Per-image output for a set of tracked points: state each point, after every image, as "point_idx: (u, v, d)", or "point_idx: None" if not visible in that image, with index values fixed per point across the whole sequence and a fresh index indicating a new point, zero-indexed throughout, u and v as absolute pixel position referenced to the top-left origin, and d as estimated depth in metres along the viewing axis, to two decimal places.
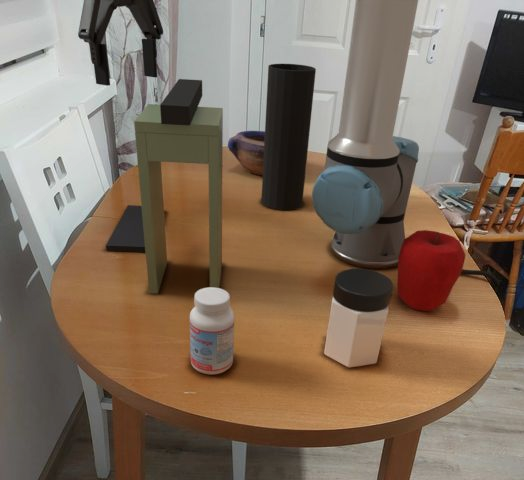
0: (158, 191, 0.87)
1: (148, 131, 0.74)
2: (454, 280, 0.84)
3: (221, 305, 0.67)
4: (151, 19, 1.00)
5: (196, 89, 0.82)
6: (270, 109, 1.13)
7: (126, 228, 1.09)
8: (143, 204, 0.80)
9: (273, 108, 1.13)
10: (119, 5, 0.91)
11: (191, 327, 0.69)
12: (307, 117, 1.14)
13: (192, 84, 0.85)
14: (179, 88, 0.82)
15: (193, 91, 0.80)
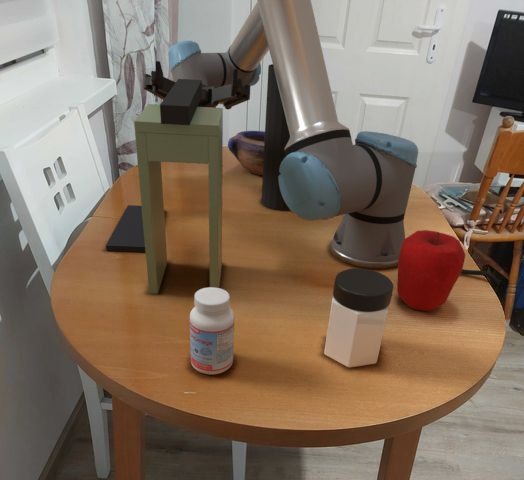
0: (158, 191, 0.87)
1: (148, 131, 0.74)
2: (454, 280, 0.84)
3: (221, 305, 0.67)
4: None
5: (196, 89, 0.82)
6: (270, 109, 1.13)
7: (126, 228, 1.09)
8: (143, 204, 0.80)
9: (273, 108, 1.13)
10: None
11: (191, 327, 0.69)
12: None
13: (192, 84, 0.85)
14: (179, 88, 0.82)
15: (193, 91, 0.80)
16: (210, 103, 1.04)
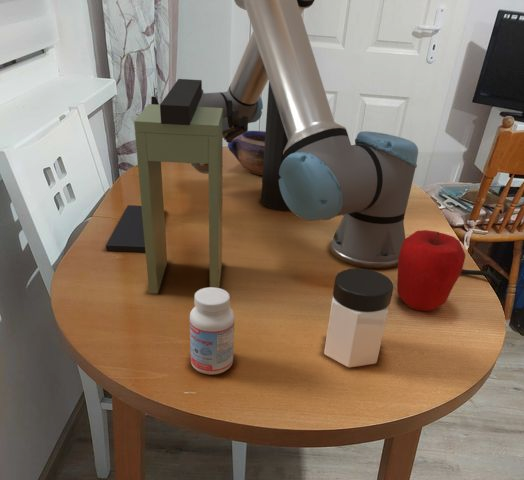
0: (158, 191, 0.87)
1: (148, 131, 0.74)
2: (454, 280, 0.84)
3: (221, 305, 0.67)
4: None
5: (196, 89, 0.82)
6: (273, 110, 1.12)
7: (126, 228, 1.09)
8: (143, 204, 0.80)
9: (275, 110, 1.11)
10: None
11: (191, 327, 0.69)
12: None
13: (192, 84, 0.85)
14: (179, 88, 0.82)
15: (193, 91, 0.80)
16: None
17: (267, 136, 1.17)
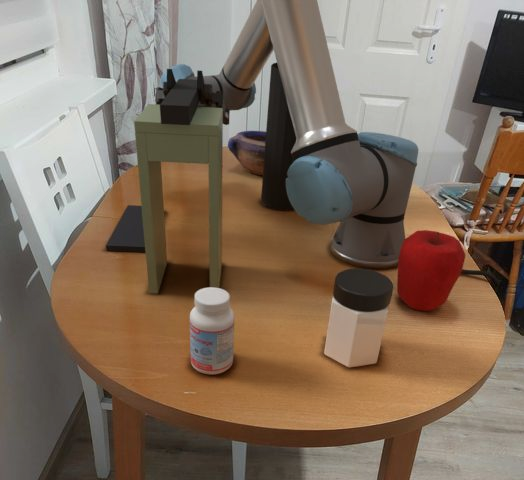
0: (158, 191, 0.87)
1: (148, 131, 0.74)
2: (454, 280, 0.84)
3: (221, 305, 0.67)
4: None
5: (196, 89, 0.82)
6: (273, 110, 1.12)
7: (126, 228, 1.09)
8: (143, 204, 0.80)
9: (276, 110, 1.11)
10: None
11: (191, 327, 0.69)
12: None
13: (192, 84, 0.85)
14: (179, 88, 0.82)
15: (193, 91, 0.80)
16: None
17: (268, 136, 1.16)
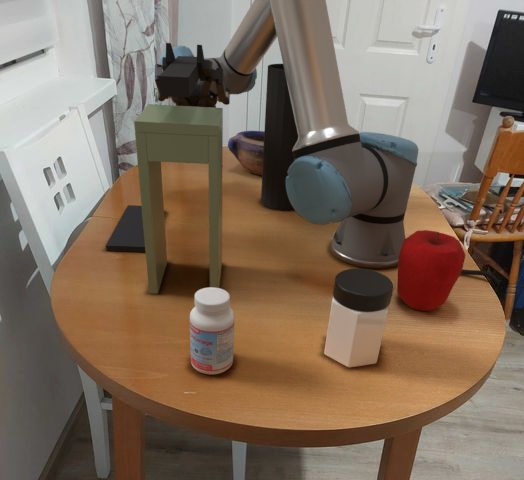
0: (158, 191, 0.87)
1: (148, 131, 0.74)
2: (454, 280, 0.84)
3: (221, 305, 0.67)
4: None
5: (196, 64, 0.80)
6: (271, 109, 1.13)
7: (126, 228, 1.09)
8: (143, 204, 0.80)
9: (274, 108, 1.13)
10: None
11: (191, 327, 0.69)
12: None
13: (192, 60, 0.84)
14: (178, 63, 0.80)
15: (193, 65, 0.79)
16: (199, 99, 0.93)
17: (266, 136, 1.18)
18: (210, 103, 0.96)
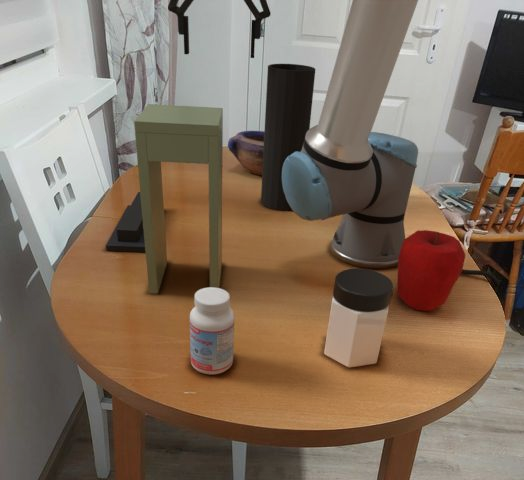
0: (158, 191, 0.87)
1: (148, 131, 0.74)
2: (454, 280, 0.84)
3: (221, 305, 0.67)
4: None
5: None
6: (271, 109, 1.13)
7: None
8: (143, 204, 0.80)
9: (274, 108, 1.13)
10: None
11: (191, 327, 0.69)
12: (307, 117, 1.15)
13: None
14: (135, 206, 1.12)
15: None
16: None
17: (266, 136, 1.18)
18: None
